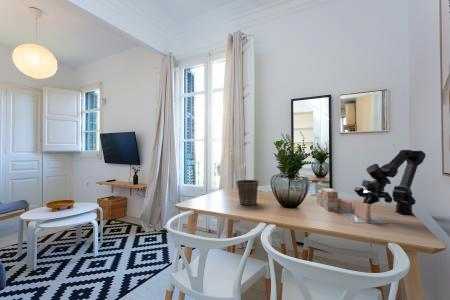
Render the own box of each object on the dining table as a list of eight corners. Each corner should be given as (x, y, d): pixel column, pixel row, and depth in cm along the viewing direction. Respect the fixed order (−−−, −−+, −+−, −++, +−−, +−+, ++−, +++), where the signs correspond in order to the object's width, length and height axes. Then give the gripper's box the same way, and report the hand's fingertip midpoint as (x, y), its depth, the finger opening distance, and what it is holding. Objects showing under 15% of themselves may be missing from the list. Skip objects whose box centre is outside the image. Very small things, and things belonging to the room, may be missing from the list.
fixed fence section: (352, 213, 129) (352, 201, 129) (349, 213, 128) (349, 201, 128) (339, 209, 137) (339, 198, 137) (337, 209, 137) (337, 198, 137)
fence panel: (350, 213, 128) (350, 197, 128) (355, 213, 127) (355, 197, 127) (366, 222, 111) (366, 204, 111) (372, 222, 111) (372, 204, 111)
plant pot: (231, 203, 157) (231, 181, 157) (246, 199, 168) (246, 179, 168) (249, 207, 145) (248, 183, 145) (263, 203, 156) (263, 181, 156)
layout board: (361, 210, 135) (361, 209, 135) (386, 223, 111) (386, 222, 111) (336, 209, 137) (336, 209, 137) (354, 222, 112) (354, 222, 112)
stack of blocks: (316, 203, 156) (316, 185, 156) (325, 203, 155) (325, 185, 155) (327, 211, 134) (327, 191, 134) (338, 211, 134) (338, 191, 134)
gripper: (356, 173, 128) (341, 193, 125) (388, 176, 111) (372, 200, 107) (366, 185, 131) (352, 205, 127) (399, 191, 113) (384, 214, 110)
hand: (364, 206), depth 118 cm, fingers closed
